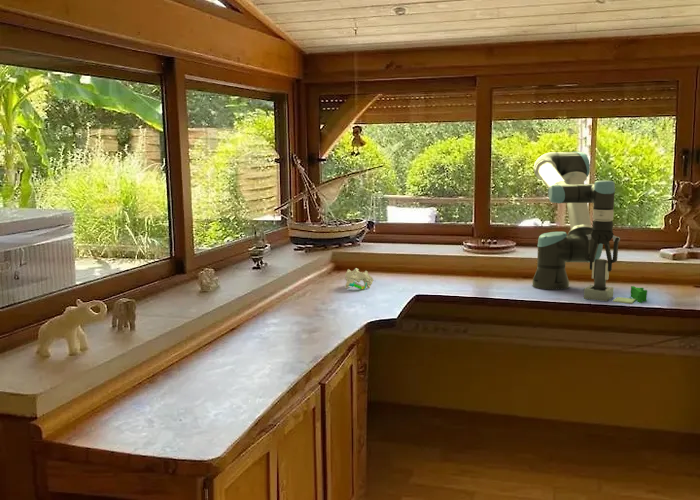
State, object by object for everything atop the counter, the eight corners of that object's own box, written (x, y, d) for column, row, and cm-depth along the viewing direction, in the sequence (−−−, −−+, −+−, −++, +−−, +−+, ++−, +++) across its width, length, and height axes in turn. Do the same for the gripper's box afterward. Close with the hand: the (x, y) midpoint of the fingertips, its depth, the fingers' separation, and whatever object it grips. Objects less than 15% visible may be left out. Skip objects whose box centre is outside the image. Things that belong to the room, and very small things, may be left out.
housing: (583, 298, 280) (584, 288, 280) (590, 294, 288) (590, 285, 287) (607, 301, 275) (607, 291, 275) (612, 297, 283) (613, 287, 282)
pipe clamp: (648, 303, 272) (649, 292, 271) (638, 303, 272) (639, 291, 272) (640, 297, 283) (640, 285, 282) (630, 297, 283) (631, 285, 283)
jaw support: (335, 283, 299) (342, 265, 304) (341, 295, 305) (348, 277, 310) (361, 286, 294) (368, 267, 299) (367, 298, 300) (373, 280, 306)
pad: (612, 301, 275) (612, 300, 274) (617, 298, 280) (617, 296, 280) (631, 303, 271) (631, 302, 271) (635, 300, 276) (635, 298, 276)
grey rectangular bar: (592, 291, 280) (593, 260, 278) (595, 289, 284) (596, 258, 282) (603, 293, 278) (605, 261, 276) (606, 291, 282) (608, 259, 280)
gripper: (577, 219, 278) (575, 278, 282) (623, 222, 269) (620, 282, 272) (583, 218, 284) (580, 275, 288) (628, 220, 275) (625, 279, 278)
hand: (600, 278), depth 280 cm, fingers closed on grey rectangular bar, 4 cm apart
